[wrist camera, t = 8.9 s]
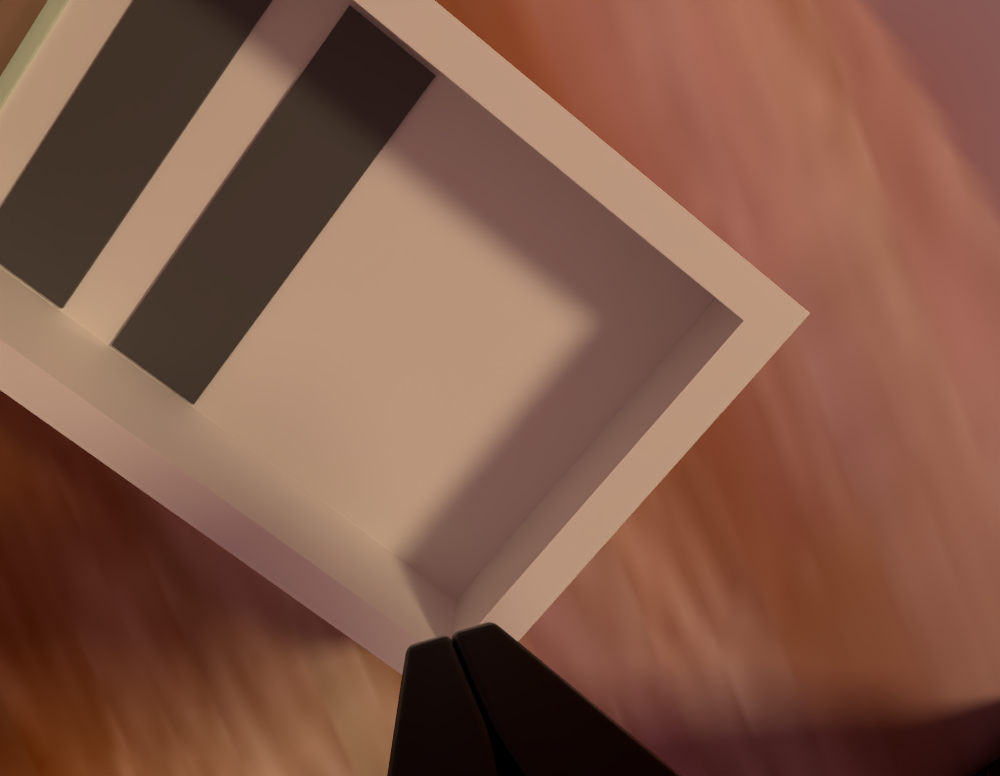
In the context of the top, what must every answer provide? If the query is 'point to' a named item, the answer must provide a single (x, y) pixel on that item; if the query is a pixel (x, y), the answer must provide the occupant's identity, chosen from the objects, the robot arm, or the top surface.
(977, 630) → the top surface
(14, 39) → the walnut block
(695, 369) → the box
